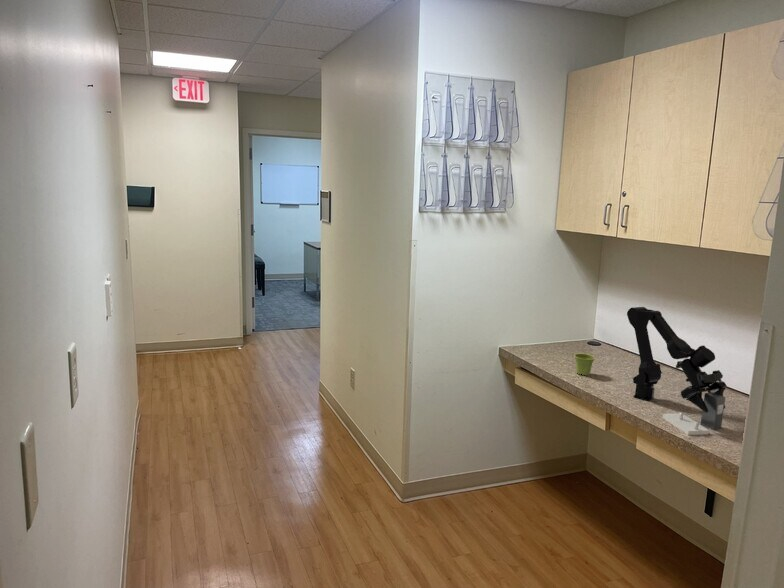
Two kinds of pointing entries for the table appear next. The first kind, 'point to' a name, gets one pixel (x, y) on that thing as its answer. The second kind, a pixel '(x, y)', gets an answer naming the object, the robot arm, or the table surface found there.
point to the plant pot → (583, 363)
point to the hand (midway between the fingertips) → (715, 410)
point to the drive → (713, 411)
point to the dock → (685, 424)
